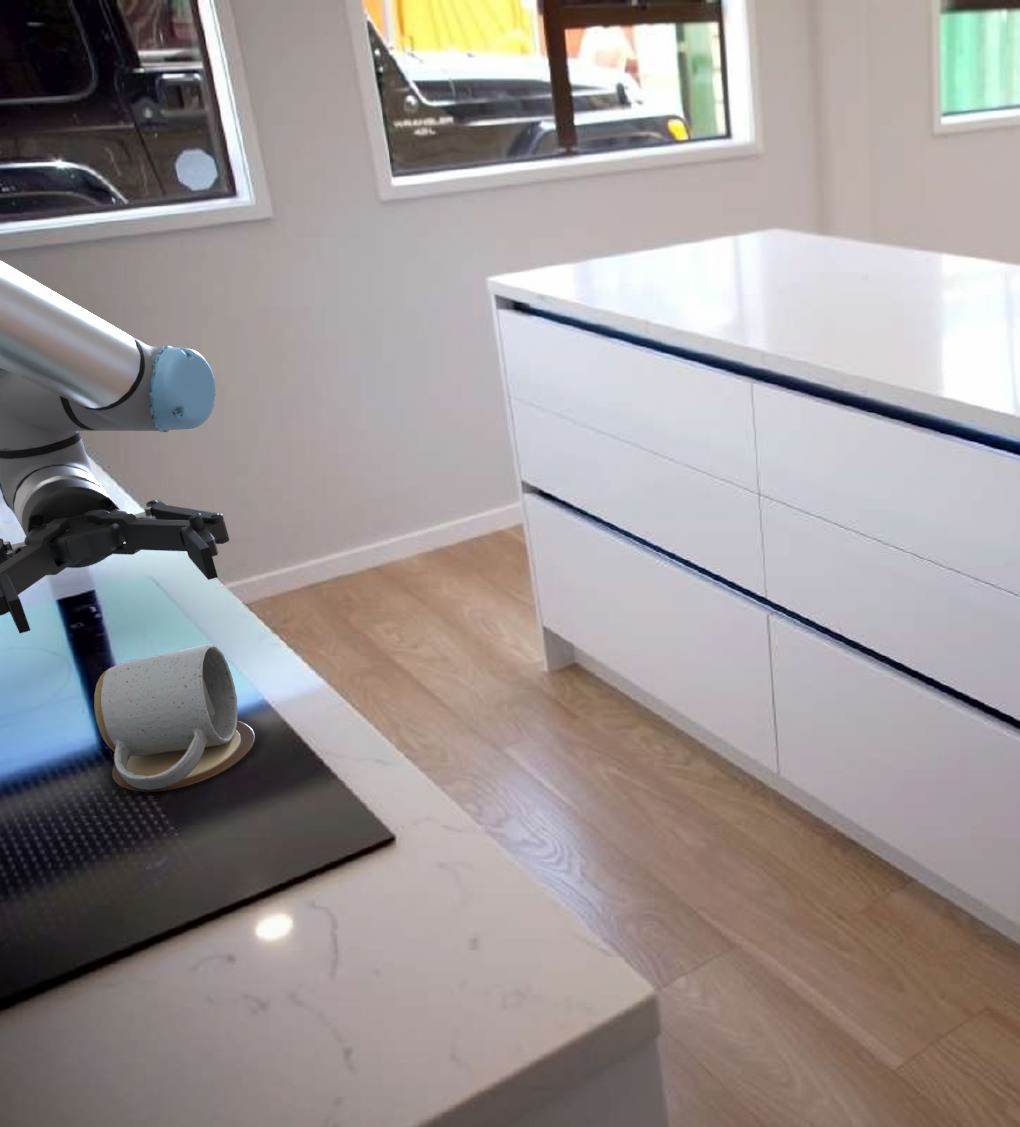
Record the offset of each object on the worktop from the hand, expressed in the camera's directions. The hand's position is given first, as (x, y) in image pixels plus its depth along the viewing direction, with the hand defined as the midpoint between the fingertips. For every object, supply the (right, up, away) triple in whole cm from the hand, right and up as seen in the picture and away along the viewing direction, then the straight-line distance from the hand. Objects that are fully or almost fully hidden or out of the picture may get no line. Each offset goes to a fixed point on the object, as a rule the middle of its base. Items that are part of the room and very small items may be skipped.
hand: (117, 589), depth 101 cm
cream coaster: (+7, -13, -2) cm, 15 cm away
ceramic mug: (+6, -13, -3) cm, 14 cm away
